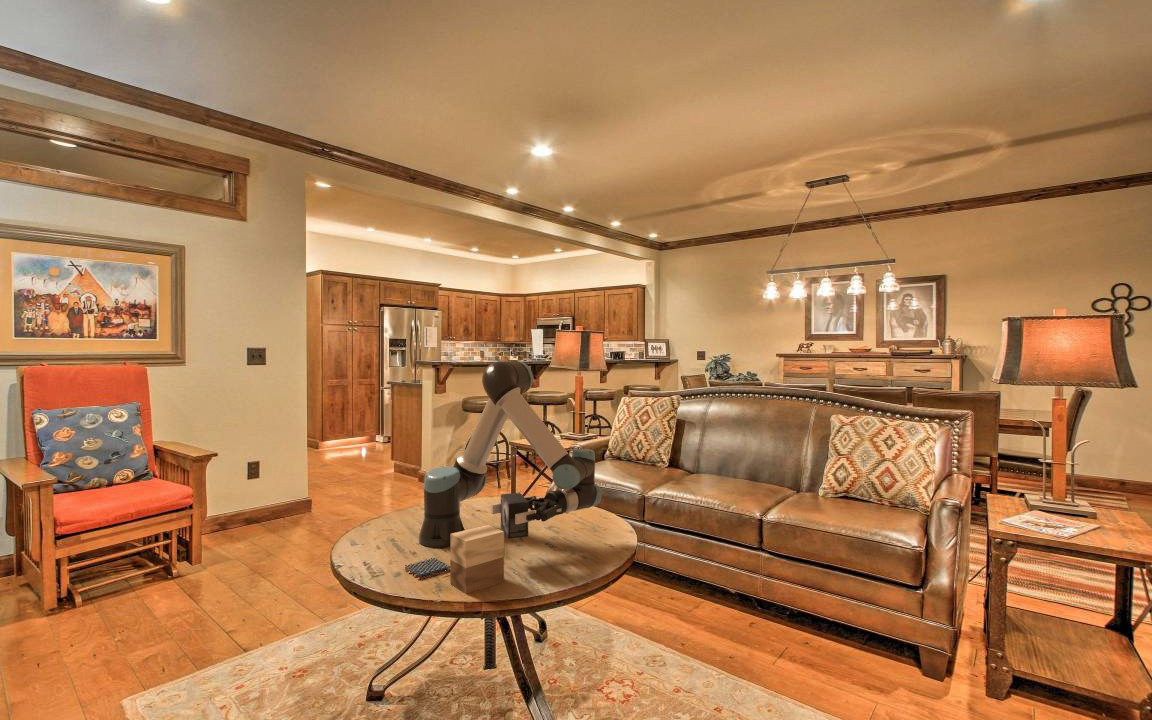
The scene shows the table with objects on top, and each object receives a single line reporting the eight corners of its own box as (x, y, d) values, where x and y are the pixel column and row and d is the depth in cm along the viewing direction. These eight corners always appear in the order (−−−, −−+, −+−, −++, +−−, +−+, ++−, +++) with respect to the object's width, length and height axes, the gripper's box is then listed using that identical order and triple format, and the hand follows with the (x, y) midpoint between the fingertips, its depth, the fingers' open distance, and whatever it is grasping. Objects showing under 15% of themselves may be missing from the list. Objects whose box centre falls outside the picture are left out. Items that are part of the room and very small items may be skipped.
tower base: (450, 585, 152) (450, 559, 152) (487, 573, 160) (487, 549, 160) (465, 594, 146) (465, 567, 146) (503, 581, 154) (503, 556, 154)
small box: (499, 527, 170) (499, 493, 170) (519, 525, 172) (520, 491, 172) (507, 539, 160) (507, 502, 160) (529, 537, 163) (529, 501, 162)
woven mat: (435, 562, 169) (435, 555, 169) (452, 572, 161) (452, 565, 161) (402, 571, 162) (402, 564, 162) (418, 582, 154) (418, 575, 154)
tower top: (450, 559, 152) (450, 533, 152) (488, 549, 160) (488, 524, 160) (465, 568, 146) (465, 541, 146) (504, 556, 154) (504, 531, 154)
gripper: (585, 522, 169) (528, 538, 155) (537, 505, 187) (481, 517, 173) (586, 498, 169) (528, 511, 155) (537, 482, 187) (481, 493, 173)
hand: (503, 514), depth 164 cm, fingers closed on small box, 11 cm apart
